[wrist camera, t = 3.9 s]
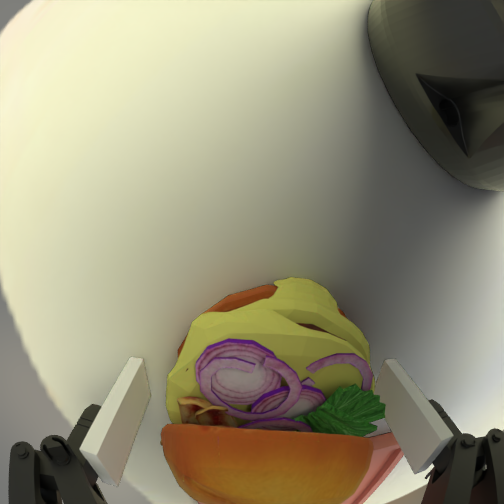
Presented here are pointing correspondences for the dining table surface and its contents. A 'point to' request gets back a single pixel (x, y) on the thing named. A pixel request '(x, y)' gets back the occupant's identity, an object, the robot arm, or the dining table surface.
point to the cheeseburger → (272, 400)
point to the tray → (377, 467)
